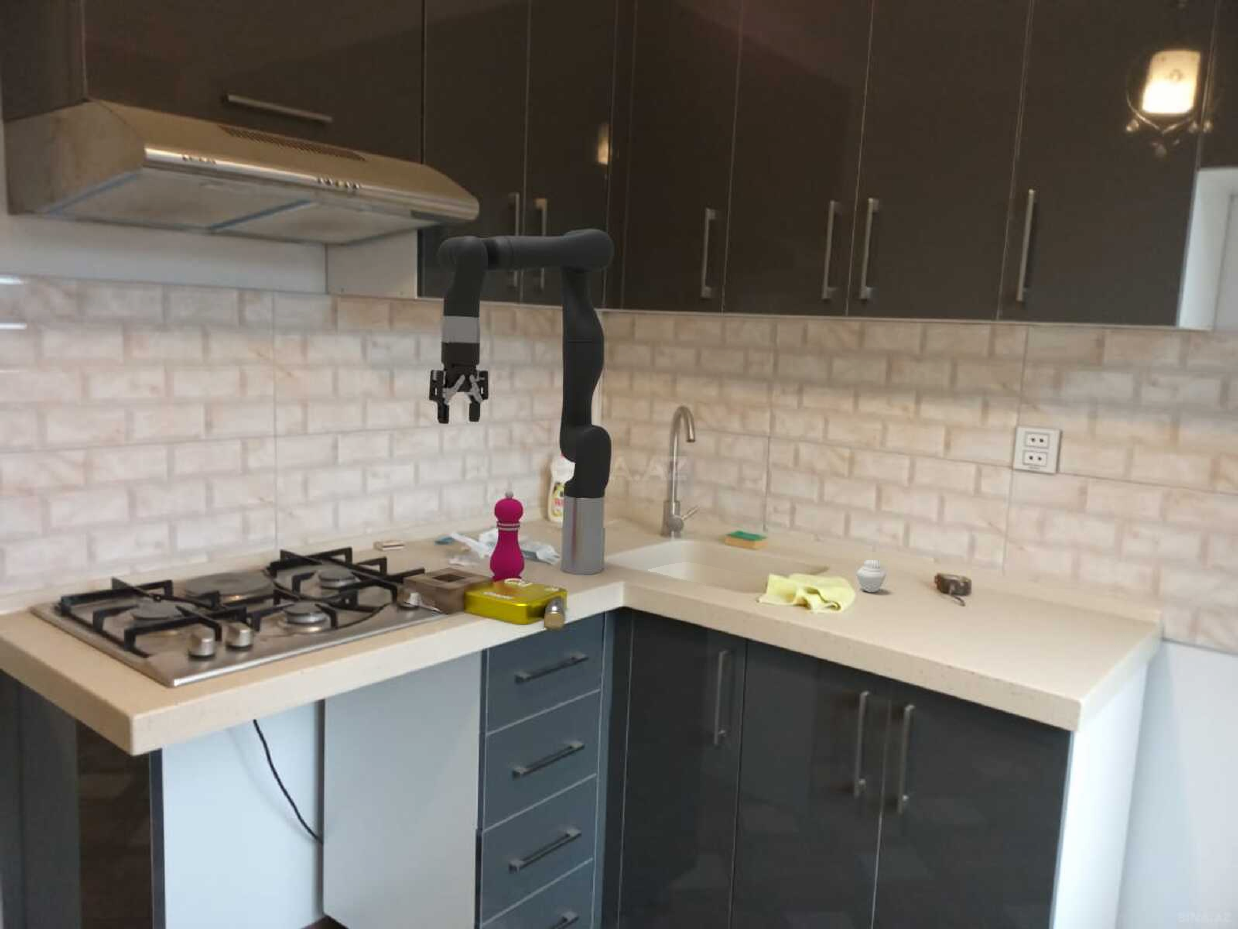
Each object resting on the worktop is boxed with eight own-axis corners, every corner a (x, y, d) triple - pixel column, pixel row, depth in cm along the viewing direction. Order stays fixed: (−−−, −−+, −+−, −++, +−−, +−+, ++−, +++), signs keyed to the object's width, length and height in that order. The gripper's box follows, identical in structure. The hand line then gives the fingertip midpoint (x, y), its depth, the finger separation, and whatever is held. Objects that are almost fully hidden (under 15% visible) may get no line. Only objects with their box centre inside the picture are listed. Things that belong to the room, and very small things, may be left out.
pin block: (448, 591, 190) (448, 567, 189) (492, 603, 183) (493, 577, 183) (403, 603, 180) (403, 578, 179) (448, 616, 173) (448, 589, 173)
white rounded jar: (879, 587, 210) (881, 556, 209) (888, 594, 203) (891, 562, 203) (851, 586, 209) (854, 555, 208) (860, 593, 203) (862, 562, 202)
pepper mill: (482, 586, 195) (484, 490, 193) (502, 579, 202) (504, 487, 199) (511, 591, 192) (514, 494, 190) (530, 584, 198) (533, 490, 196)
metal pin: (569, 605, 178) (568, 623, 166) (554, 617, 178) (552, 636, 166) (556, 590, 178) (555, 608, 166) (542, 603, 178) (539, 621, 166)
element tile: (459, 614, 176) (459, 589, 176) (508, 598, 189) (509, 574, 189) (523, 629, 169) (524, 603, 168) (570, 611, 182) (571, 587, 181)
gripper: (472, 340, 193) (470, 419, 195) (420, 338, 182) (419, 422, 184) (499, 342, 189) (497, 422, 191) (448, 339, 177) (446, 425, 179)
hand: (458, 422), depth 187 cm, fingers open, 8 cm apart
